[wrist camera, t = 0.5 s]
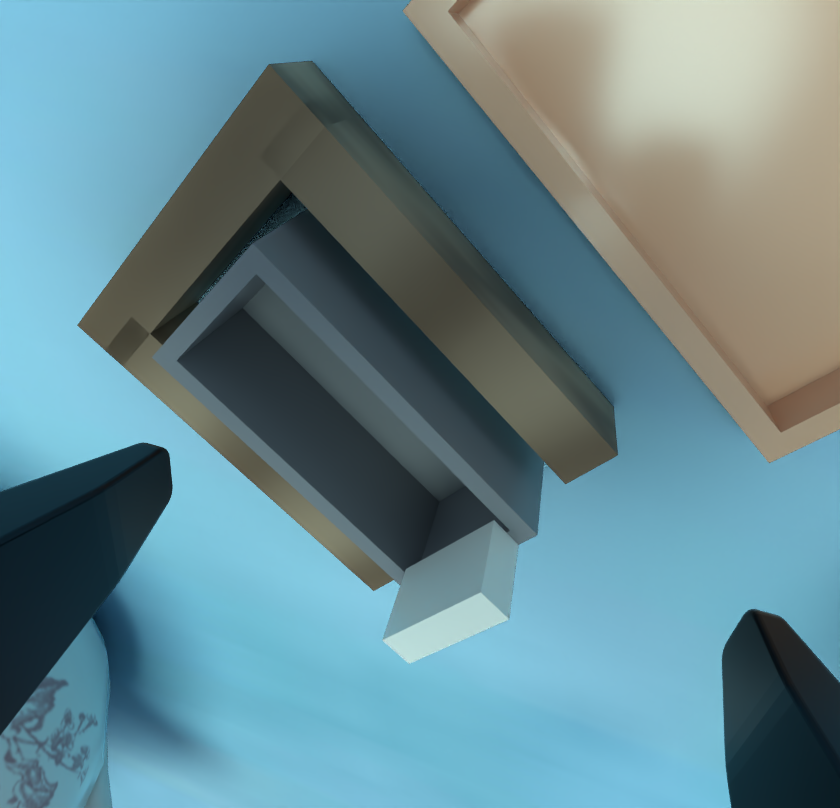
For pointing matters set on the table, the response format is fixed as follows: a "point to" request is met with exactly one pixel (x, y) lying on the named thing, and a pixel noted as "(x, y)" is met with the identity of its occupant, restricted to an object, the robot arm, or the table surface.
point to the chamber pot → (62, 734)
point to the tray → (686, 172)
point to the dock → (376, 253)
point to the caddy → (366, 428)
